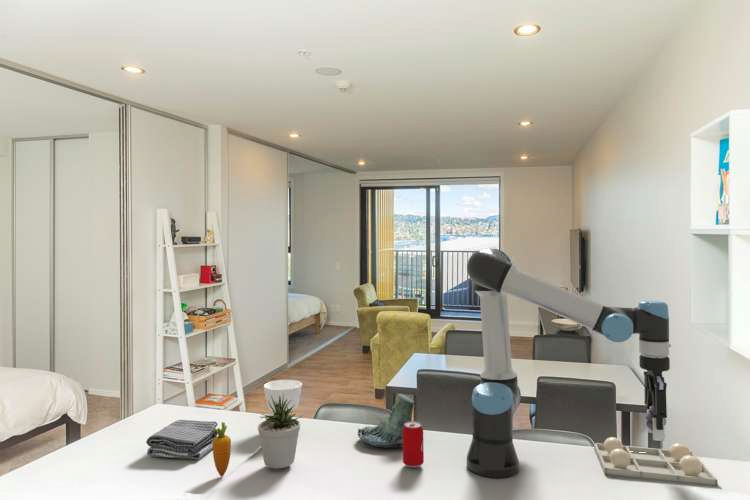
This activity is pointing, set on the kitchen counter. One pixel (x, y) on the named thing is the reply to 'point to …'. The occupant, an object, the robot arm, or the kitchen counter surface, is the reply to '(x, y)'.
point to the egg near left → (619, 458)
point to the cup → (283, 386)
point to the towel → (183, 440)
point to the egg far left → (612, 444)
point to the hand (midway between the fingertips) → (655, 436)
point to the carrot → (221, 450)
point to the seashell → (650, 419)
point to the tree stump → (390, 425)
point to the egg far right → (678, 451)
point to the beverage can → (413, 444)
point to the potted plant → (279, 436)
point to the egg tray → (652, 466)
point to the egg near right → (690, 465)
